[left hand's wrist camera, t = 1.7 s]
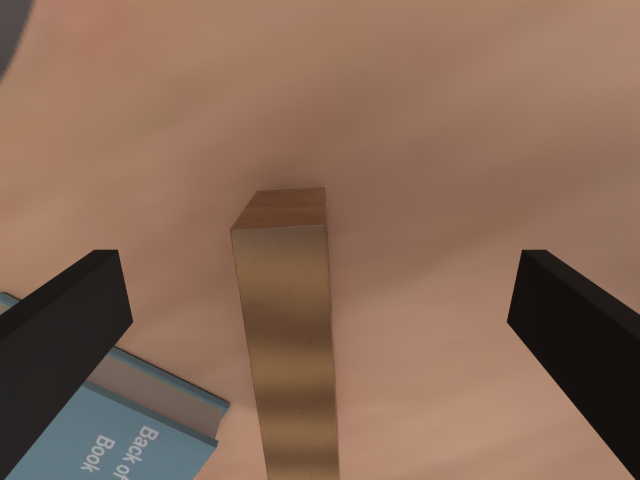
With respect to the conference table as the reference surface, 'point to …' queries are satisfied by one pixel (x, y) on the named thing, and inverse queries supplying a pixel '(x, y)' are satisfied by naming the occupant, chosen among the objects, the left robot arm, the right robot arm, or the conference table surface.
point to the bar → (290, 330)
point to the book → (125, 426)
